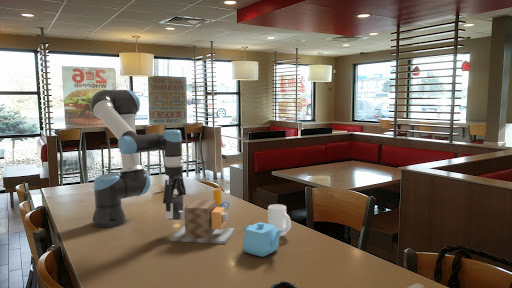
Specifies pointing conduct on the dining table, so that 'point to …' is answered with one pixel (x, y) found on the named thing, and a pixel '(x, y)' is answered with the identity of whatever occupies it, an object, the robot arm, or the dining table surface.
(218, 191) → the cylinder
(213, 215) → the block
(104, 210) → the robot arm
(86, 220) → the dining table surface
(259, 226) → the teapot
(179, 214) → the grey mallet
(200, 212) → the block
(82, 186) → the dining table surface
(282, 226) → the mug
